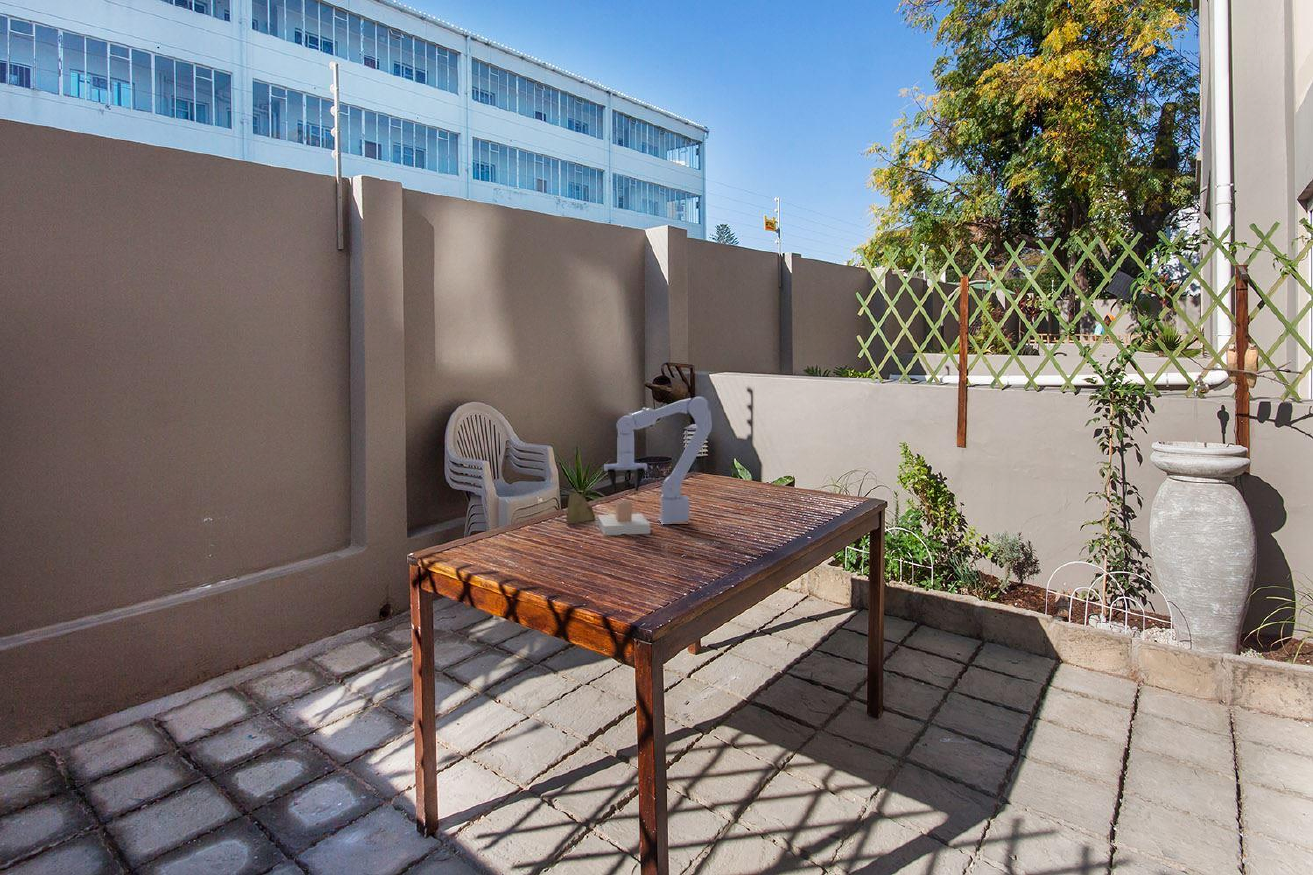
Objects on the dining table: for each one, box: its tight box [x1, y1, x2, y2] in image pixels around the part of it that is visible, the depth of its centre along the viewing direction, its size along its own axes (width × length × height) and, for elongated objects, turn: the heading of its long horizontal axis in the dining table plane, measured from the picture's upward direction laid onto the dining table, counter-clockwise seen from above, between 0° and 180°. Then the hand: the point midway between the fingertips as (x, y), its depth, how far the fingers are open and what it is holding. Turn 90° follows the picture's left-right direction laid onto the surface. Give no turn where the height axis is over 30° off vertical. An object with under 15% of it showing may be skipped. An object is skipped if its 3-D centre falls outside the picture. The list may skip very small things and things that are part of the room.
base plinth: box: [596, 513, 651, 536], centre depth 239 cm, size 15×15×3 cm
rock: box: [565, 492, 596, 525], centre depth 248 cm, size 11×9×10 cm
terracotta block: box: [614, 499, 633, 522], centre depth 239 cm, size 4×4×6 cm
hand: (625, 490), depth 249 cm, fingers open, 7 cm apart
